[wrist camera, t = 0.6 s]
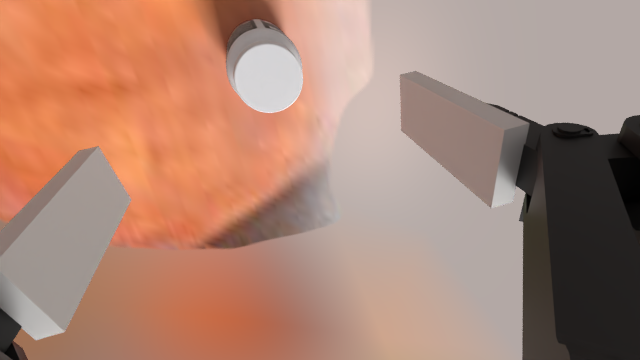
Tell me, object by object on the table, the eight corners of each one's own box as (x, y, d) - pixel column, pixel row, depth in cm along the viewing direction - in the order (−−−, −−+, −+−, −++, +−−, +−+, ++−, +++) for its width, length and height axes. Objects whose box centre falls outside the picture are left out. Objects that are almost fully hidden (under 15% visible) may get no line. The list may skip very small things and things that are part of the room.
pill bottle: (234, 86, 31) (234, 125, 22) (220, 21, 27) (214, 39, 19) (292, 79, 31) (313, 113, 23) (285, 15, 28) (306, 29, 20)
